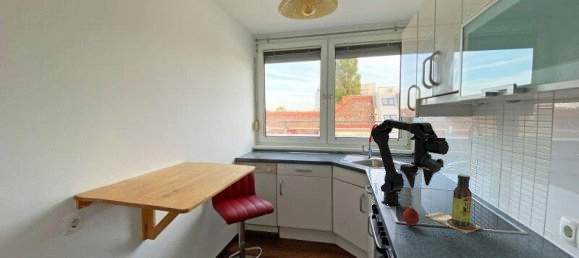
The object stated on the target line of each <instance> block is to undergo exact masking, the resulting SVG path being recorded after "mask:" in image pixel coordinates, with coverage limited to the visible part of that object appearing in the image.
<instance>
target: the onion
mask: <svg viewBox="0 0 579 258" xmlns="http://www.w3.org/2000/svg"><path fill="white" fill-rule="evenodd" d="M402 218H403V221H404V222H405V223H406V224H407V225H408V226H409V227H413V226H415V225H416V224H418V223H419V221H420V215H419V213H418V211H417V210H416V209H414V207H412V206H408V208H407V209H405V210H404V211H403V213H402Z"/></svg>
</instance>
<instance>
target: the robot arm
mask: <svg viewBox="0 0 579 258" xmlns="http://www.w3.org/2000/svg"><path fill="white" fill-rule="evenodd" d="M394 129H396V130H401V131H406V132H408V133H410V134H412V135H413V136H412V137H410V139H409V140H410V141H414V145H413V146H414V147H413V152H412V153H411V156H413V161H412V162H411V163H403V164H401V165H400V167H399V171H400V172H401V173H400V172H398V171H397V169H396V166H395V163H394V159H393V155H392V153H391V149H390V145H389V140H390V134H391V133H392V132H393V130H394ZM370 135H371V139H372V141H373V142H374V143H375V144H376V145H377V147H378V151H379V155H380V157H381V161H382V164H383V168H384V171H385V174H384V183H383V184H382V185H380V191H381V192H383V200H381V201H380V202H381V203H382V202H383V203H382V204H384V203H385V204H384V205H386V204H388V205H390V206H389V207H395V206H394V205H396V206H399V205H401V203H399V198H400V197H399V193H401V192H402V190H403V188H404V186H405V180H404V178H403V174H404V176H405V178H406V180H407V182H408V184H409V186H410V188H412V189H414V187H415V181H416V177H417V175H419V173H418V171H419V170H422V173H423V179H424V184H425V186H427V187H428V186H429V185H430V183H431V181H432V178H433V176H434V175H435V174H437V173H439V172H440V171H441V170H442V168H444V160H443V158H436V159H435V158H432V154H436V155H442V156H445V155H447V153H449V148H450V146H449V143H448V141H447V140H446V138H447V137H438V135H437V134H436V132H435V130H434V129H433V126H432V123H430V122H409V121H403V120H395V119H391V118H388V119H385V120H384V121H383V122H381V123H379V124H377V125H376V126H375V127H373V128H372V130H371V131H370ZM388 205H387V206H388Z"/></svg>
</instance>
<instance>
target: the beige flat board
mask: <svg viewBox="0 0 579 258" xmlns="http://www.w3.org/2000/svg"><path fill="white" fill-rule="evenodd" d="M424 217H425V218H427V219H428V220H432V221H434V222H437V223H439V224H441V225H444V226H446V227H448V226H449V228H451V229H453V230H456V231H458V232H460V233H463V234H470V233H472V232H477V231H479V230H478V229H480V230H482V229H483V227H482V226H479V225H477V224H475V223H473V222H471V221H470V222H469V226H459V225H456V224H454V223H452V221H451V220H452V218H451V215H450V214H447V213H445V212H442V211H438V212H435V213H429V214H425V215H424ZM476 230H477V231H476ZM469 232H470V233H469Z"/></svg>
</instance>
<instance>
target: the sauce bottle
mask: <svg viewBox="0 0 579 258" xmlns="http://www.w3.org/2000/svg"><path fill="white" fill-rule="evenodd" d="M470 180H471V176H470V175H467V174H463V173H460V174H459V173H458V174H457V186H456V187H455V188H454V189H453V196H452V204H451V215H450V216H451V218H452V220H451V221H452V223H454V224H456V225H459V226H469V222H471V215H472V214H471V211H472V202H473V201H472V200H473V198H472V196H473V195H472V190H470Z"/></svg>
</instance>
